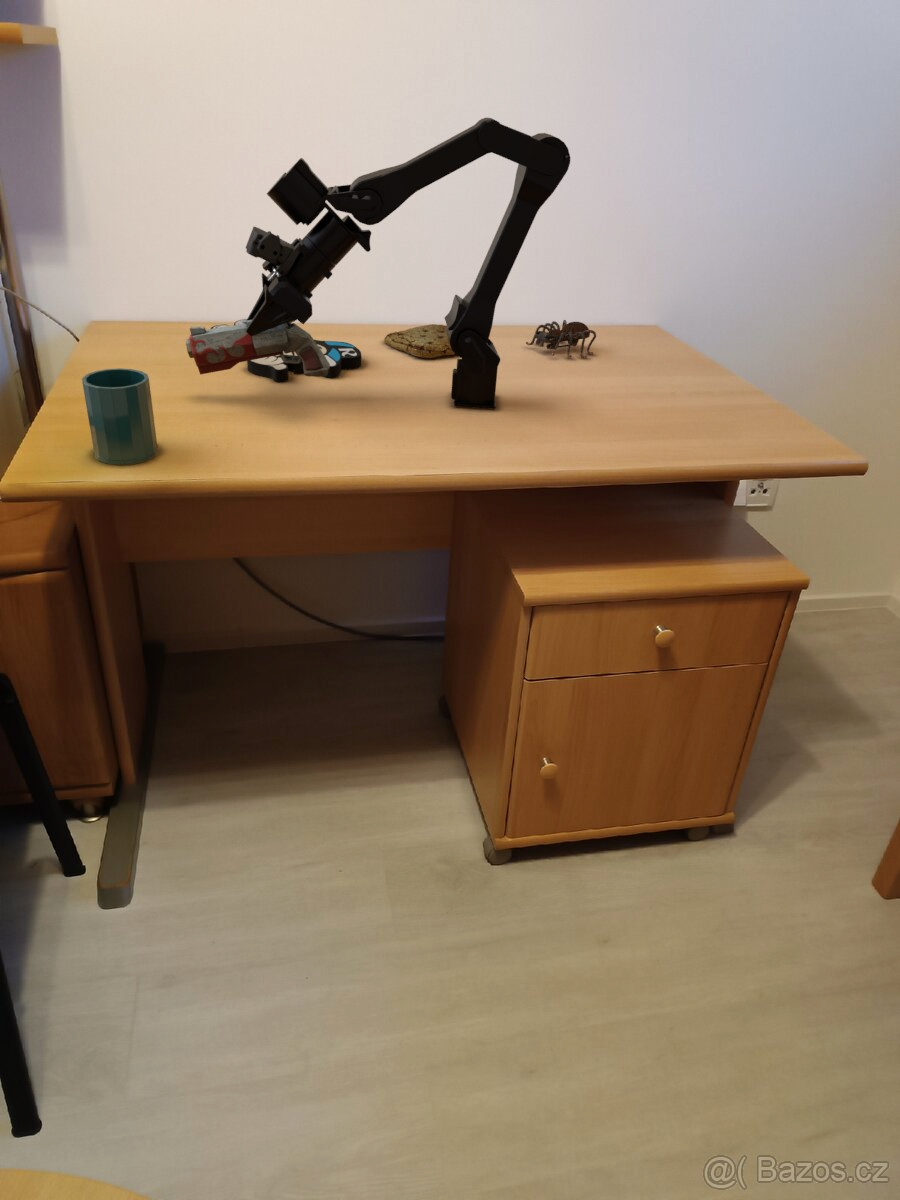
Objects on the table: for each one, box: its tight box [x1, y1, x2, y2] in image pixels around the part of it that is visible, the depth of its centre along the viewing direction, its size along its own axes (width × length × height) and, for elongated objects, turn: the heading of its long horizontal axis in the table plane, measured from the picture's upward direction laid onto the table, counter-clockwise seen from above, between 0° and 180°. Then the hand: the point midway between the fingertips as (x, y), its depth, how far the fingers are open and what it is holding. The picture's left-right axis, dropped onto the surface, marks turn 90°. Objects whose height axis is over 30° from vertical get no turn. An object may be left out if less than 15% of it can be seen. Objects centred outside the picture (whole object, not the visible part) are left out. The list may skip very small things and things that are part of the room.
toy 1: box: [210, 318, 362, 383], centre depth 154 cm, size 28×2×30 cm
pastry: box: [384, 323, 456, 359], centre depth 163 cm, size 17×17×3 cm
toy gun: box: [185, 320, 330, 378], centre depth 131 cm, size 4×20×10 cm, turn 95°
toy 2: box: [525, 319, 597, 359], centre depth 166 cm, size 12×12×5 cm
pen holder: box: [81, 367, 159, 466], centre depth 112 cm, size 8×8×10 cm
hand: (247, 330), depth 129 cm, fingers closed on toy gun, 3 cm apart
